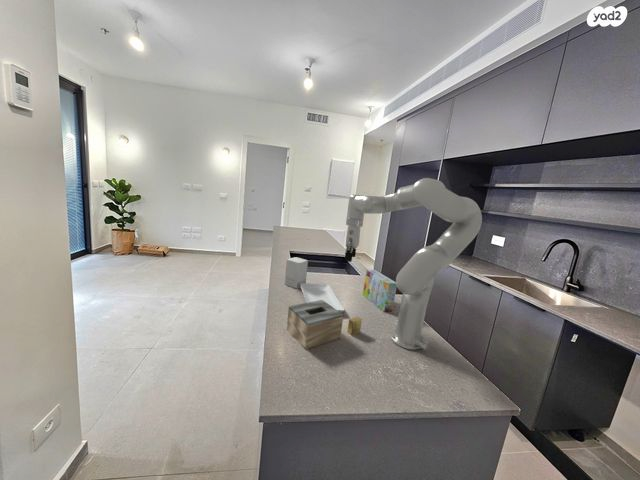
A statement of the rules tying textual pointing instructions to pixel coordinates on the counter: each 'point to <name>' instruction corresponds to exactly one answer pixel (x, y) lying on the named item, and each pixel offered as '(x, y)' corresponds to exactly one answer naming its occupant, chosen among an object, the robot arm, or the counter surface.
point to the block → (354, 325)
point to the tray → (321, 295)
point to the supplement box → (296, 272)
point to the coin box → (314, 323)
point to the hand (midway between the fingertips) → (349, 258)
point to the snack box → (380, 290)
